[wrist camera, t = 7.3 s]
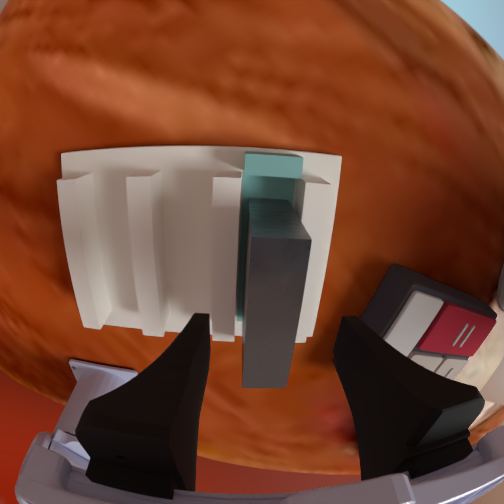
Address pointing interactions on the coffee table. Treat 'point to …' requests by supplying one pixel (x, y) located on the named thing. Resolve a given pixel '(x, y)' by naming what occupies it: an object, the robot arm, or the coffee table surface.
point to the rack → (184, 230)
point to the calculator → (428, 320)
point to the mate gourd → (501, 289)
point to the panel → (272, 291)
